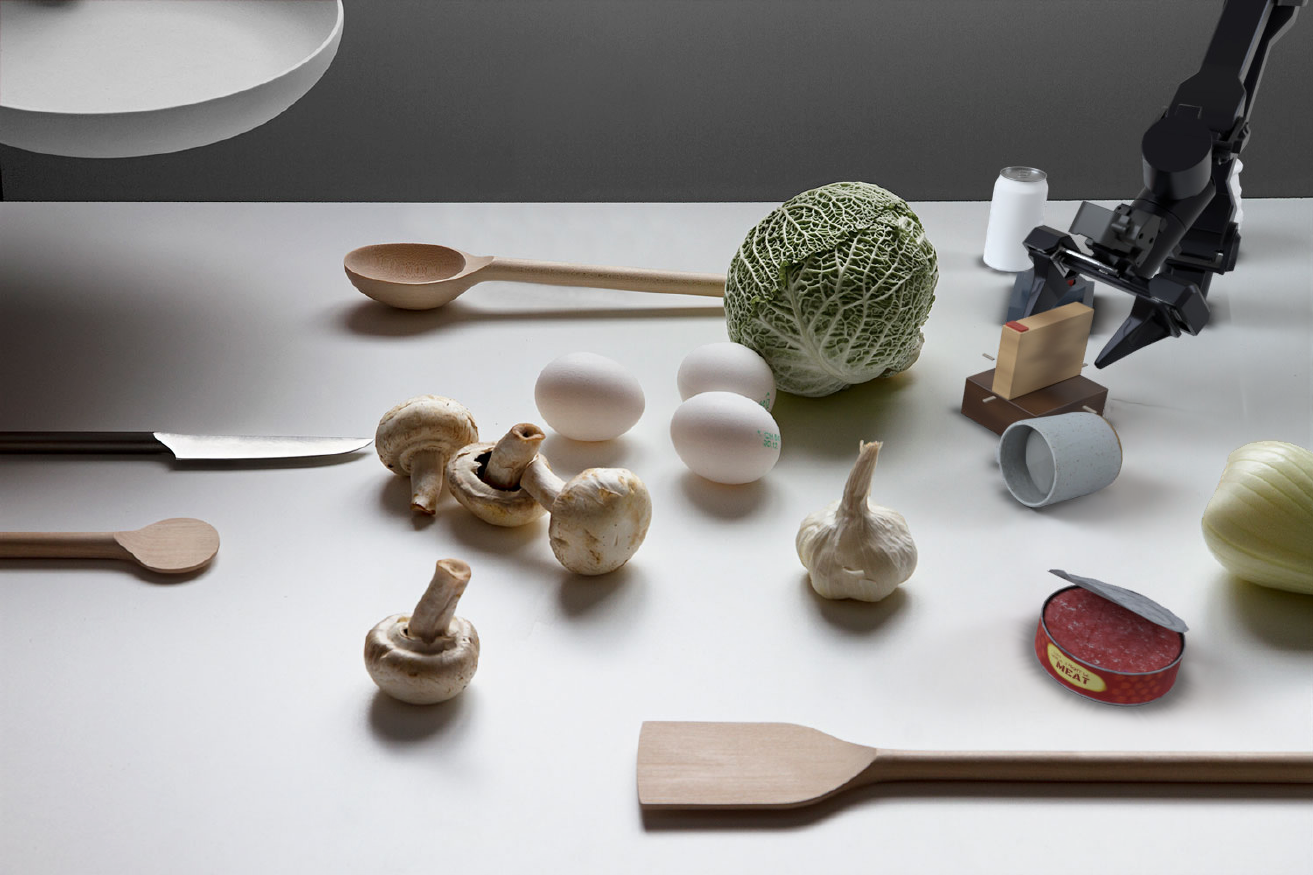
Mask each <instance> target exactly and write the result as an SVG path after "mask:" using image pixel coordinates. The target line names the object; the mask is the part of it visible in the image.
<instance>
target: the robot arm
mask: <svg viewBox="0 0 1313 875" xmlns="http://www.w3.org/2000/svg"><path fill="white" fill-rule="evenodd" d="M1308 3H1309V0H1223V5H1222V10H1221V13H1220V15H1219V18H1218V20H1217V23H1216V25H1215V27H1214V29H1213V33H1212V35H1211V38H1210V40H1209V42H1208V45H1207V47H1206V50H1205V52H1204V54H1203V57H1202V60H1201V62H1200V65H1199V67H1198V68H1197V71H1196V72H1195V73H1193V74H1192V75H1191V76H1189V77H1187V78H1186V79H1183V81H1181V82H1180V83H1178V85H1177V87H1175V91H1174V93H1173V95H1172V97H1171V99H1170V100H1169V103H1168V106H1166V105H1163V106H1162V107H1161V108H1160V110H1159V112H1158V113H1157V115H1156V116H1155V118H1154V119H1153V121H1152V122H1151V124H1150V125H1149V126H1148V128H1147V130H1146V131H1145V132H1144V134H1143V136H1142V138H1141V145H1140V148H1141V149H1140V150H1141V162H1142V176H1143V183H1144V187H1143V188H1142V189H1141V191H1140V192H1139V193H1138V194H1137V196H1136V197H1135V198H1134V200H1133V201H1132V202H1131V204H1130V205H1129V204H1126V203H1124V202H1121V203H1120V204H1118V205H1117V206H1116V207H1115V208H1114V209H1113V210H1111V209H1109V208H1106V207H1103V206H1102V205H1101V206H1100V205H1098V204H1095V203H1092V202H1089V201H1086V200H1082V202H1081V203H1080V206H1079V208H1078V210H1077V212H1076V214H1075V216H1074V218H1073V220H1072V222H1071V224H1070V226H1069V229H1068V231H1067V232H1068V233H1070V234H1068V233H1066V232H1064V231H1061V230H1058V229H1055V228H1053V227H1051V226H1048V225H1046V224H1042V226H1038V227H1035V228H1034V229H1033V230H1031V232H1030V233H1029V234H1028V236H1027V237H1026V238H1025V240H1024V241H1023V242H1022V244H1023V245H1024V247H1025V248H1026V250H1027V251H1028V257H1029V259H1030V260H1031V261H1032V263H1033V264H1034V266H1033V269H1034V279H1033V284H1032V288H1031V292H1030V295H1029V298H1028V301H1027V304H1026V308H1025V311H1024V314H1023V317H1022V319H1024V318H1027V317H1030V316H1033V315H1036V314H1039V313H1043V312H1046V311H1049V310H1051V309H1052V308H1053V307H1054V306H1055V305H1056V304H1057V303H1058V302H1059V301H1060V300H1061V299H1062V298H1063V296H1064V295H1065V294H1066V293H1067V292H1068V291H1069V290H1070V289H1071V287H1070V285H1069V284H1068V282H1067V281H1069V280H1072V279H1075V278H1077V277H1078V276H1079V275H1083V276H1085V277H1087V278H1090V279H1092V280H1094V281H1097V282H1100V283H1102V284H1104V285H1107V286H1109V287H1112V288H1114V289H1117V290H1119V291H1121V292H1124V293H1126V294H1129V295H1131V296H1133V297H1135V299H1134V302H1133V304H1132V307H1131V310H1130V312H1129V315H1128V317H1126V319H1125V320H1124V322H1122V324H1121V326H1119V328H1118V329H1117V330H1116V332H1115V333H1114V334H1113V336H1112V337H1111V338H1110V339H1109V340H1108V342H1107V343H1106V344H1105V345H1104V346H1103V348H1102V349H1101V351H1100V352H1099V354H1098V356H1097V357H1096V359H1095V360H1094V362H1093V365H1094V366H1095V369H1098V370H1103V369H1104V368H1107V367H1108V366H1111V365H1113V364H1114V363H1116V362H1119V360H1121V359H1124V358H1126V357H1127V356H1129V355H1131V354H1133V353H1135V352H1137V351H1139V350H1141V349H1143V348H1146V347H1147V346H1150V345H1153V344H1155V343H1157V342H1160V341H1162V340H1164V339H1167V338H1169V337H1170V338H1171V337H1173V338H1175V339H1179V338H1180V337H1181V336H1182V335H1183V334H1182V332H1183V333H1185V334H1188V335H1190V336H1192V337H1197V336H1198V335H1199V334H1200V332H1202V330H1203V329H1204V327H1206V325H1207V324H1208V322H1209V318H1210V315H1211V311H1210V306H1209V305H1208V303H1207V298H1208V295H1209V292H1210V287H1211V284H1212V279H1213V275H1214V274H1218V275H1219V276H1224V275H1225V273H1231V272H1234V271H1235V268H1236V264H1237V261H1238V257H1239V252H1240V246H1241V240H1242V236H1241V235H1240V232H1239V233H1238V231H1239V229H1238V225H1239V223H1237V222H1234V219H1235V215H1236V212H1237V205H1236V202H1235V198H1234V195H1233V192H1232V188H1231V185H1230V180H1231V177H1232V173H1233V170H1234V167H1235V163H1236V160H1237V159H1238V157H1239V155H1241V153H1242V152H1243V150H1244V149H1245V147H1246V146H1247V145H1248V143H1249V140H1250V137H1251V133H1252V130H1251V129H1250V127H1249V125H1250V117H1251V115H1252V114H1251V113H1252V111H1253V108H1254V104H1255V101H1256V97H1257V94H1258V91H1259V88H1260V85H1261V81H1262V78H1263V74H1264V72H1265V68H1266V65H1267V61H1268V58H1269V56H1270V55H1269V54H1270V52H1271V48H1272V47H1273V46H1274V45H1275V44H1276V43H1277V42H1278V41H1279V40H1280V39H1281V38H1282V37H1283V36H1285V34H1287V32H1288V31H1289V30H1290V29H1291V28H1292V27H1293V26H1294V25H1295V23H1296V21H1297V17H1298V15H1299V11H1300V8H1301V7H1306V6H1307V5H1308ZM1071 234H1072V235H1075V236H1079V235H1080V236H1082V237H1085V238H1086V239H1085V240H1084V242H1083V244H1084V245H1085V246H1086V248H1087V249H1088V250H1090V251H1091V252H1092V254H1091V255H1090V254H1087V253H1085V252H1082V251H1081V249H1080V247H1079V246H1078V244H1077V243H1076V242H1075V240H1074V239H1073V236H1071ZM1219 253H1221V254H1223V255H1218V254H1219ZM1157 271H1158V273H1157Z"/></svg>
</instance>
